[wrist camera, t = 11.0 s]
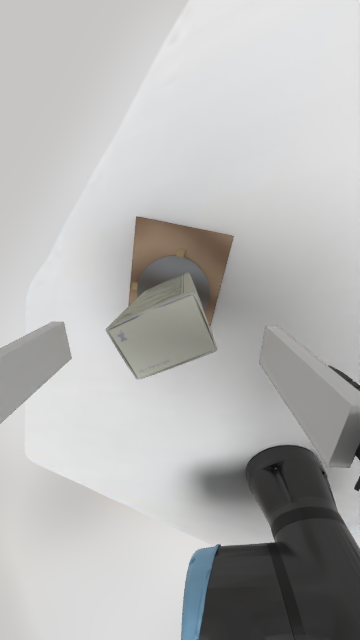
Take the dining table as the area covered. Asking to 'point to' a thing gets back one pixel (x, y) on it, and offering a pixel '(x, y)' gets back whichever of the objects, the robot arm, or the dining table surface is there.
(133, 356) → the skincare box
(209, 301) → the bayonet base
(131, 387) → the dining table surface
